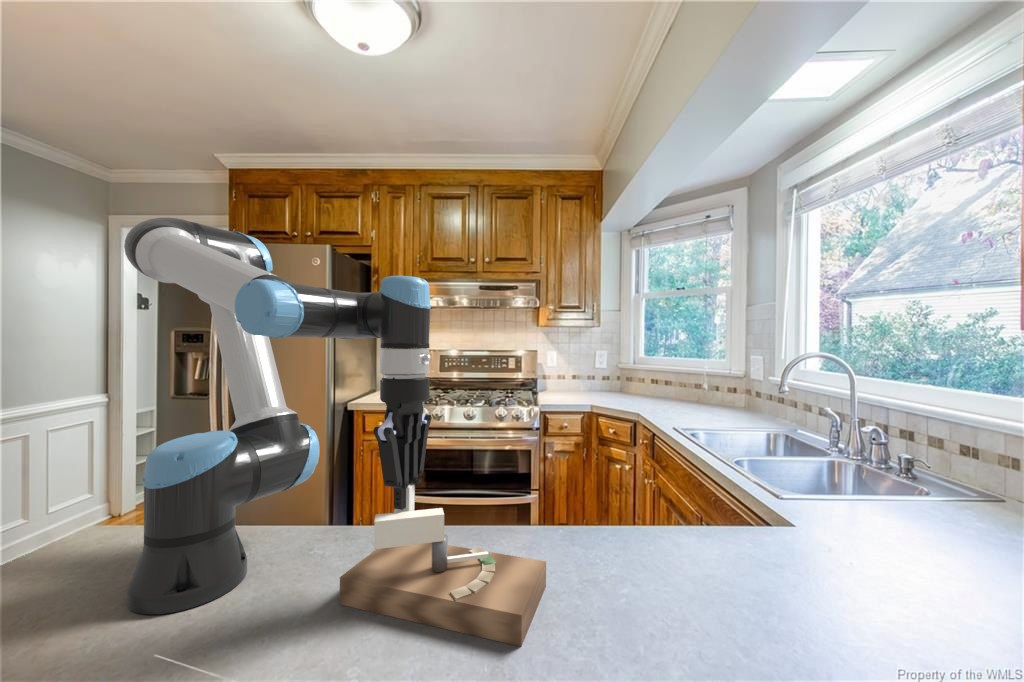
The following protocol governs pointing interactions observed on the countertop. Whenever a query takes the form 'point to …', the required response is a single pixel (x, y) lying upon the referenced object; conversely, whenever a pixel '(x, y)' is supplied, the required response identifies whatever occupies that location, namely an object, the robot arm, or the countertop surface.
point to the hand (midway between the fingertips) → (404, 526)
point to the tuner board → (449, 590)
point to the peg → (418, 534)
